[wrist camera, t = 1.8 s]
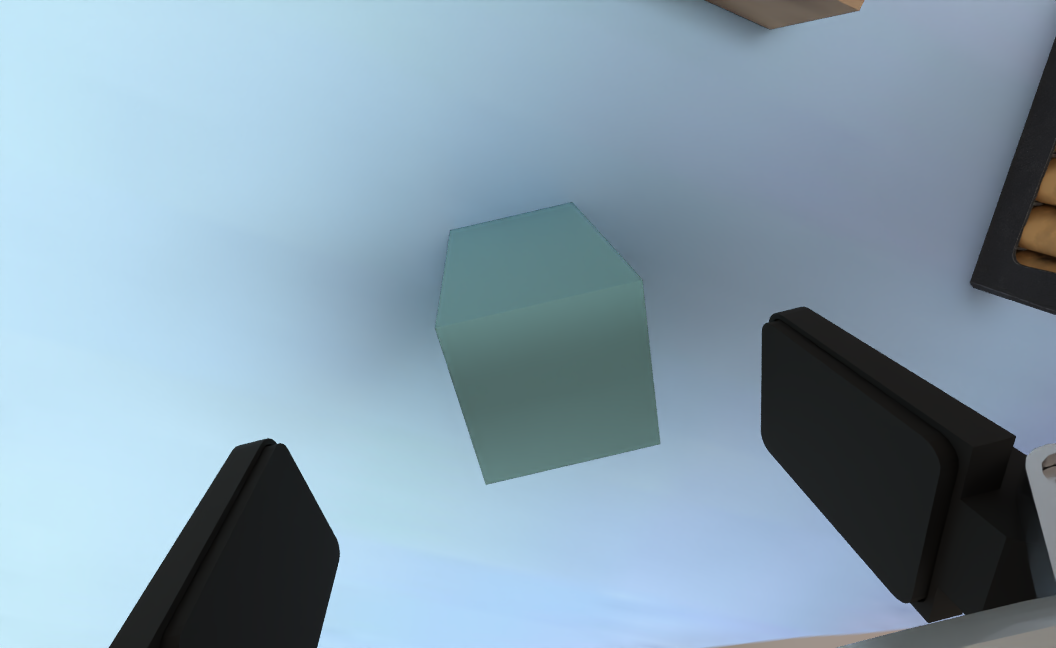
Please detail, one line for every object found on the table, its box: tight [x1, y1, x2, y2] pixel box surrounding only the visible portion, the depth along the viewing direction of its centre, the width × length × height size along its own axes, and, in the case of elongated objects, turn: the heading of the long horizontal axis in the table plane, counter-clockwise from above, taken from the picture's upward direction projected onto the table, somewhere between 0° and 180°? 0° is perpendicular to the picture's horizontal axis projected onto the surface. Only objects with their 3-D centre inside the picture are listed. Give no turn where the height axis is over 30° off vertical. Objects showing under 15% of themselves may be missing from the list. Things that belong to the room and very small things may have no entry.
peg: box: [435, 202, 660, 485], centre depth 15 cm, size 4×4×8 cm
